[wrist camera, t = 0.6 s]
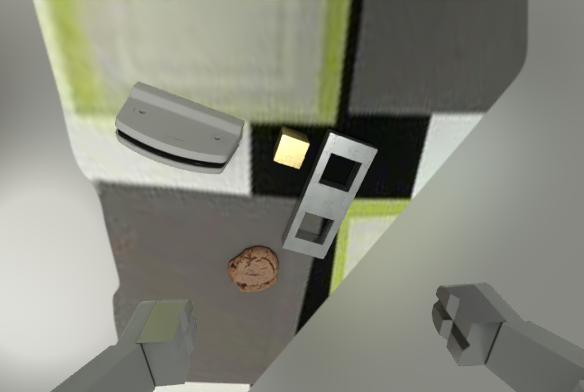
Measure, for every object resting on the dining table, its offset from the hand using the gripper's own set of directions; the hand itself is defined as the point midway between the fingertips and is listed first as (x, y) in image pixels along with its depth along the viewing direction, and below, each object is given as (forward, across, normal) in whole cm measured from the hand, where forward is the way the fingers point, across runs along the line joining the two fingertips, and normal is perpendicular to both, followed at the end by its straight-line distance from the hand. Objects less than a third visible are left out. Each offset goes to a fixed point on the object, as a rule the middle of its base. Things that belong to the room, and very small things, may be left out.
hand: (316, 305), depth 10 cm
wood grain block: (+40, -1, +5) cm, 40 cm away
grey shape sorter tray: (+40, -7, +15) cm, 43 cm away
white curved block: (+40, +15, +2) cm, 43 cm away
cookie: (+40, +7, +30) cm, 51 cm away
